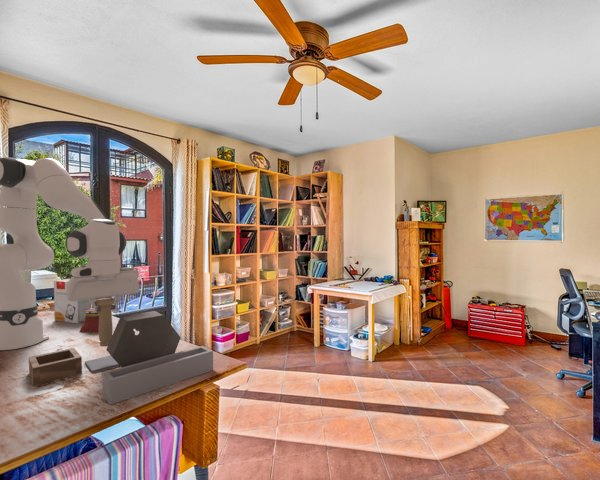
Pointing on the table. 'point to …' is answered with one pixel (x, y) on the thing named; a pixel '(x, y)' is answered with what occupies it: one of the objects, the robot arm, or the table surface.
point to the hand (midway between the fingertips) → (105, 310)
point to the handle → (105, 320)
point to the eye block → (54, 366)
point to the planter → (142, 338)
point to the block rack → (155, 373)
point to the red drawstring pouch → (91, 321)
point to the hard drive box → (68, 304)
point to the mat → (101, 364)
